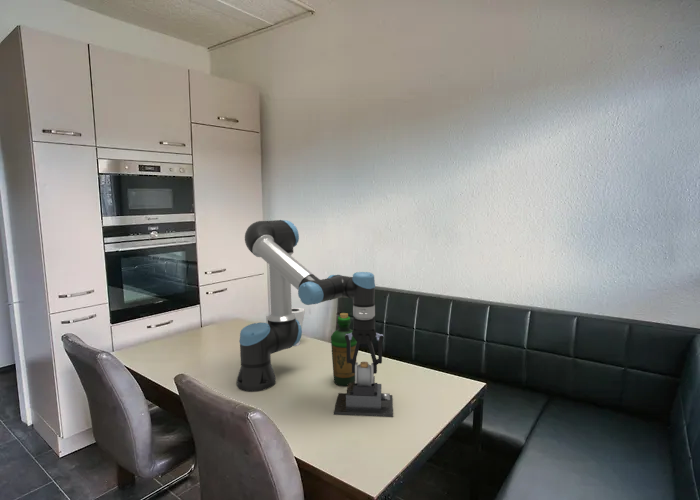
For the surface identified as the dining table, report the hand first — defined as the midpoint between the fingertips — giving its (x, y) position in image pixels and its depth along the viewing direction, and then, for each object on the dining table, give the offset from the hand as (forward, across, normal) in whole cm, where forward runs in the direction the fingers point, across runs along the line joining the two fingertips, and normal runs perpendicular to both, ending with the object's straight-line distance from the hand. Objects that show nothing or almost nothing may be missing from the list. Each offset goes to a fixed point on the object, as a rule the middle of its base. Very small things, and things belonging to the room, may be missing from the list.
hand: (364, 381), depth 144 cm
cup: (+9, -39, +62) cm, 74 cm away
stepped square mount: (+9, 0, 0) cm, 9 cm away
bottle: (+9, -9, +19) cm, 23 cm away
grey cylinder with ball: (+2, 0, 0) cm, 2 cm away
